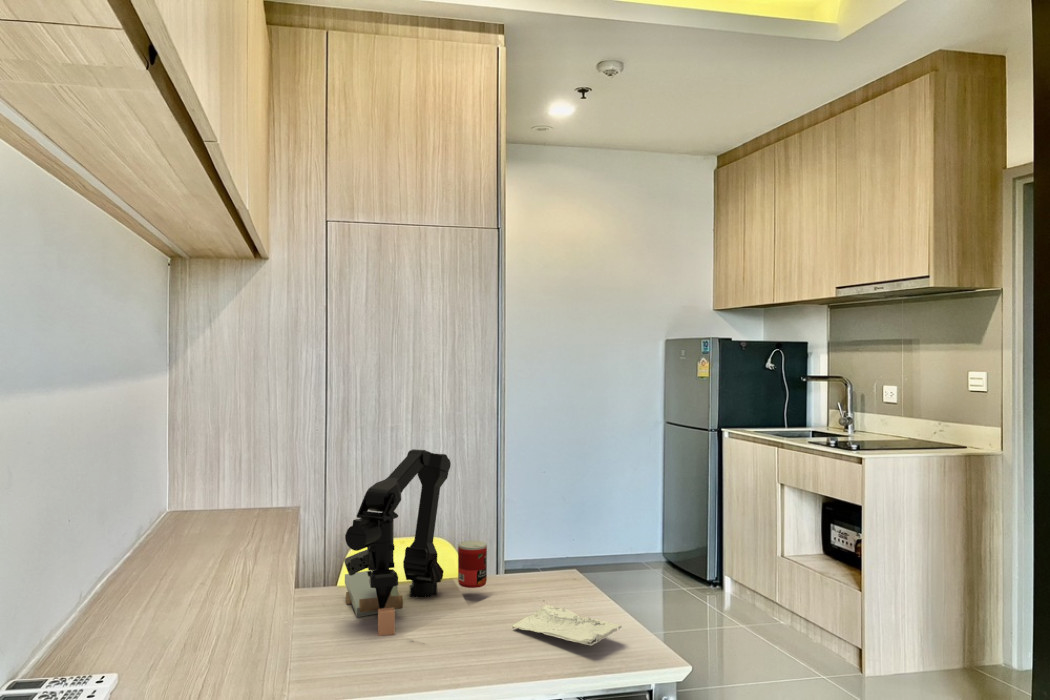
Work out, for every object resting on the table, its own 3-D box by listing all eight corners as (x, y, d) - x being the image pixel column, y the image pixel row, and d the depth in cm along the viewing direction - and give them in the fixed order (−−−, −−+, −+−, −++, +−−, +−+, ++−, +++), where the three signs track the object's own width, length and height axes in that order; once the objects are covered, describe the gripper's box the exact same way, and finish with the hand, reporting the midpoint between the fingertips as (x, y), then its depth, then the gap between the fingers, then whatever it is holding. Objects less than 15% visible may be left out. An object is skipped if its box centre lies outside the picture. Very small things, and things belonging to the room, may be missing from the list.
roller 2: (401, 606, 172) (401, 593, 172) (402, 609, 169) (402, 597, 169) (359, 610, 169) (359, 597, 169) (359, 614, 166) (359, 601, 166)
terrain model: (598, 653, 151) (598, 629, 151) (506, 632, 163) (506, 610, 163) (626, 627, 166) (626, 605, 166) (539, 610, 177) (539, 590, 177)
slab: (375, 577, 188) (375, 569, 187) (389, 611, 174) (390, 602, 173) (344, 582, 184) (344, 574, 184) (356, 617, 170) (357, 608, 170)
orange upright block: (393, 630, 162) (393, 607, 162) (394, 634, 160) (394, 611, 160) (377, 631, 161) (378, 608, 161) (378, 635, 159) (378, 612, 159)
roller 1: (390, 587, 183) (390, 599, 181) (389, 590, 185) (389, 601, 184) (346, 591, 180) (346, 603, 178) (346, 593, 182) (346, 605, 181)
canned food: (482, 589, 191) (482, 548, 191) (454, 587, 193) (454, 546, 193) (489, 580, 199) (489, 541, 199) (462, 578, 200) (462, 539, 200)
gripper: (345, 533, 176) (345, 596, 176) (348, 553, 158) (347, 623, 158) (390, 530, 179) (390, 592, 179) (398, 549, 161) (398, 618, 161)
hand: (381, 605), depth 169 cm, fingers closed on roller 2, 3 cm apart
